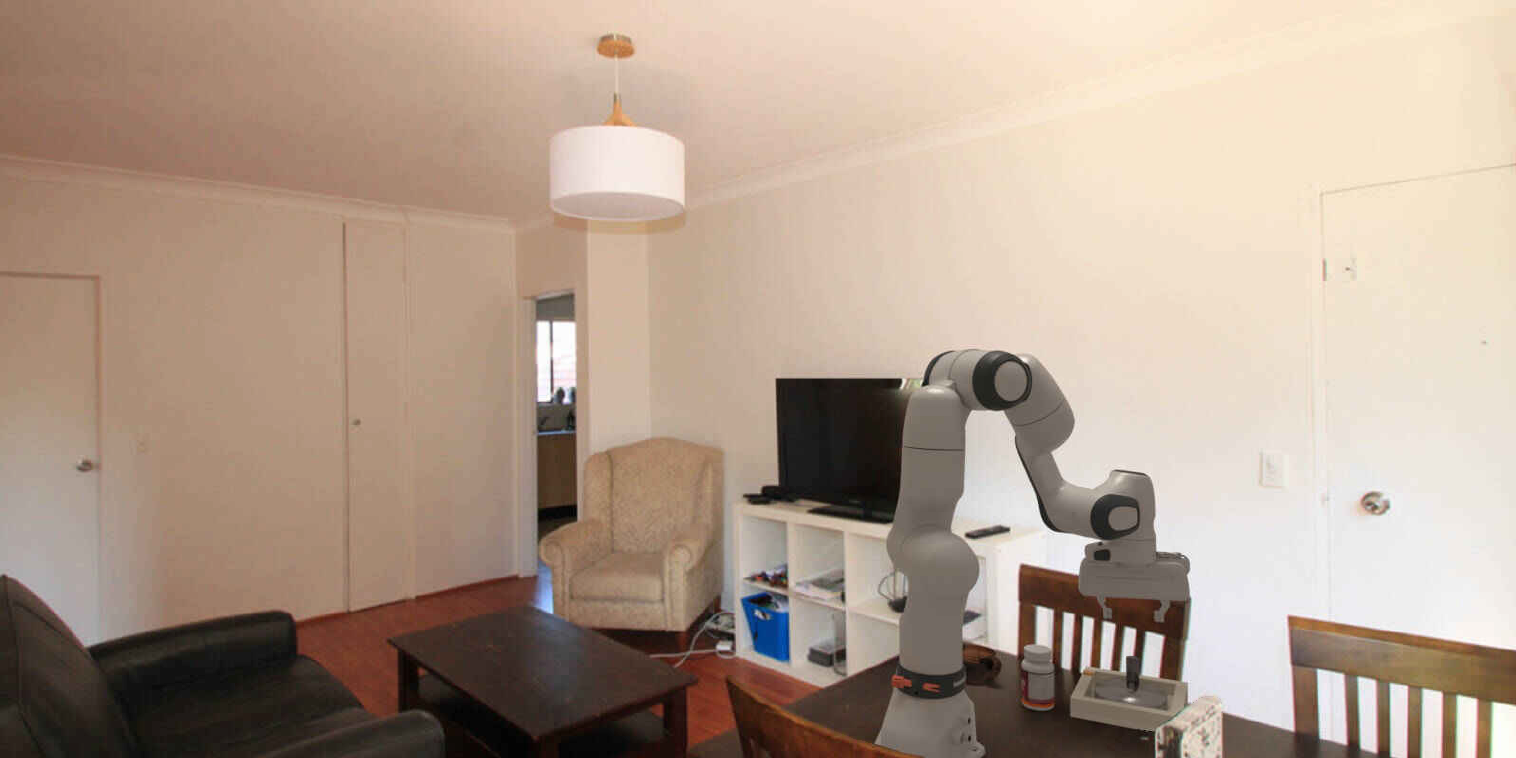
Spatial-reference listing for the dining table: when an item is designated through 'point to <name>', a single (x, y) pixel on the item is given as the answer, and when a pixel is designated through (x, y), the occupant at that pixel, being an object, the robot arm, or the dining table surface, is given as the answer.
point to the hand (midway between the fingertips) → (1133, 619)
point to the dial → (1131, 689)
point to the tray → (1121, 713)
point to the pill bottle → (1037, 678)
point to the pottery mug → (980, 663)
